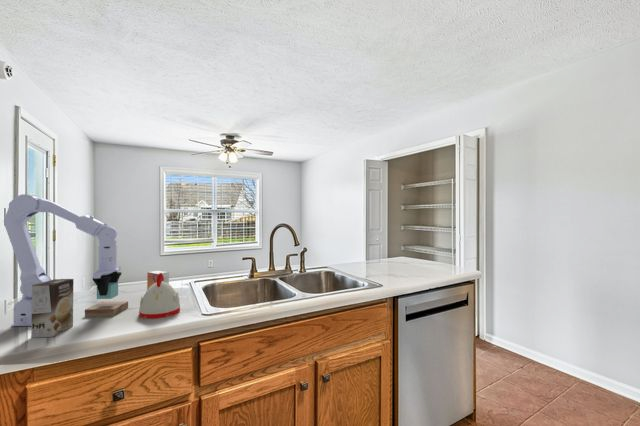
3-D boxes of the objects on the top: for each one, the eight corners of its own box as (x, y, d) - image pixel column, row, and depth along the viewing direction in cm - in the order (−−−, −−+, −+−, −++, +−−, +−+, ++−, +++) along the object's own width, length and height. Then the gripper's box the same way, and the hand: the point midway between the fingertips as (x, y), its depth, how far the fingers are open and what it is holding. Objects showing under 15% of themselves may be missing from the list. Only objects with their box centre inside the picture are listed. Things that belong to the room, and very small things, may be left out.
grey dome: (134, 320, 110) (134, 278, 110) (144, 308, 124) (145, 270, 123) (176, 316, 114) (176, 276, 114) (182, 305, 127) (182, 269, 127)
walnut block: (113, 317, 114) (113, 309, 114) (84, 317, 113) (84, 309, 113) (128, 308, 124) (128, 301, 124) (101, 309, 123) (101, 301, 123)
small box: (146, 294, 143) (146, 272, 143) (158, 292, 148) (158, 270, 148) (157, 297, 139) (158, 273, 139) (169, 294, 144) (169, 271, 144)
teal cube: (110, 298, 116) (110, 285, 116) (96, 299, 116) (96, 285, 116) (118, 295, 121) (118, 282, 121) (104, 295, 121) (104, 282, 121)
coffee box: (53, 337, 95) (53, 285, 95) (30, 338, 94) (30, 285, 94) (73, 326, 104) (74, 278, 104) (53, 326, 103) (53, 278, 103)
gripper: (108, 260, 112) (107, 298, 112) (128, 255, 126) (128, 288, 126) (86, 261, 111) (86, 298, 111) (109, 255, 125) (109, 288, 125)
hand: (107, 293), depth 119 cm, fingers closed on teal cube, 5 cm apart
